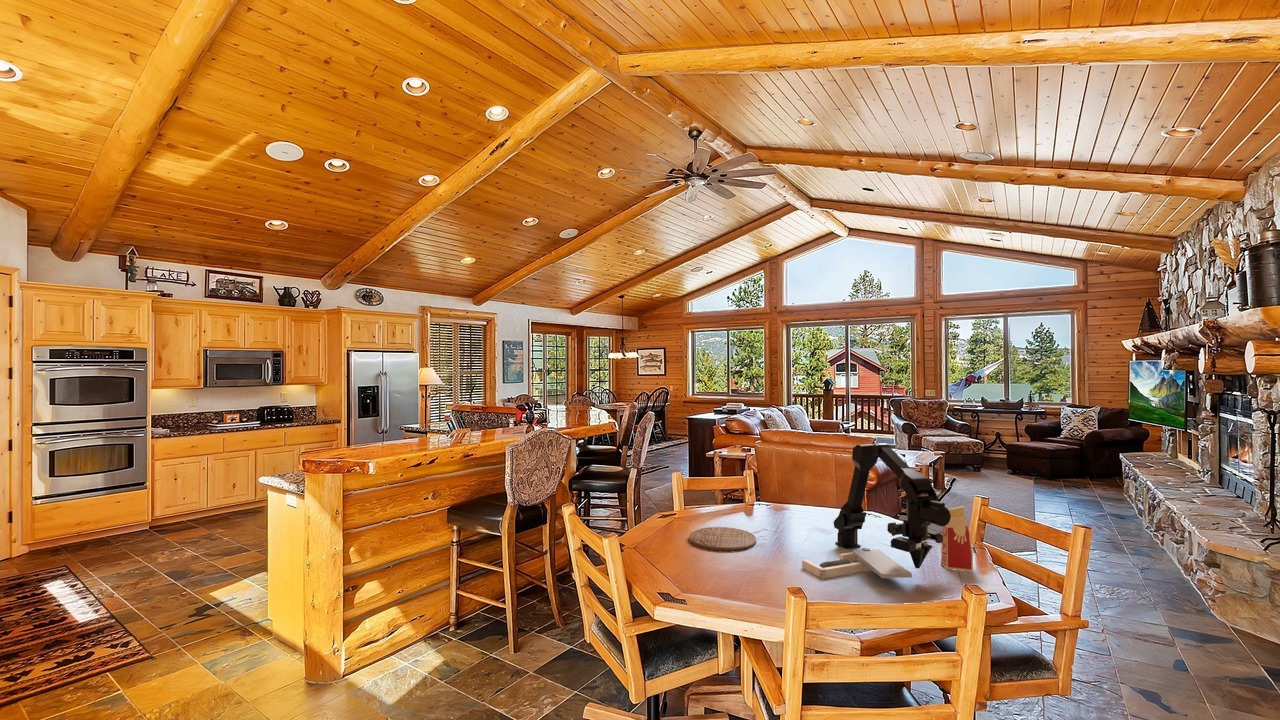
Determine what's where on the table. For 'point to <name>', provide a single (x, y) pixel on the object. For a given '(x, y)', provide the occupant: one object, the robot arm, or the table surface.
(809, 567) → the long open tray
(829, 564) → the grey capsule bar
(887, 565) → the cover
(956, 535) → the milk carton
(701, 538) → the trivet
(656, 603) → the table surface
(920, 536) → the robot arm
